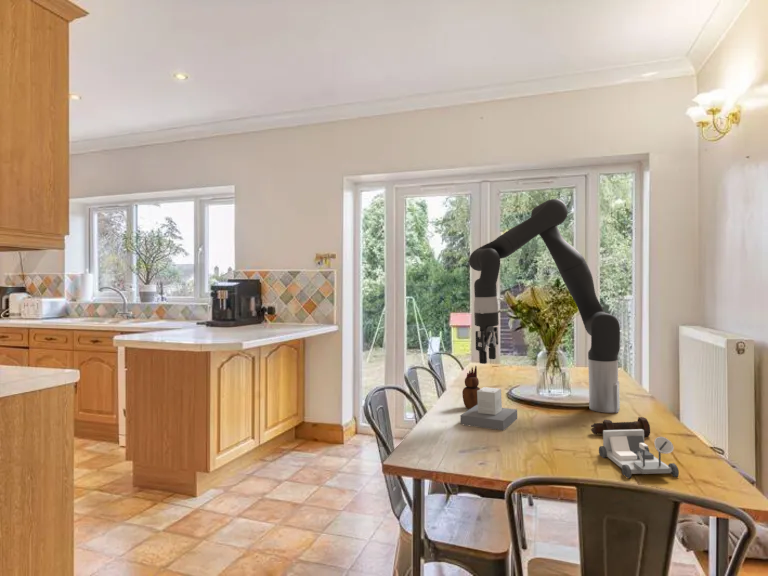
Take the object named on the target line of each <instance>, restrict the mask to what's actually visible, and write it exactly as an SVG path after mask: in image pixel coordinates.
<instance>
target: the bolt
mask: <svg viewBox="0 0 768 576" xmlns="http://www.w3.org/2000/svg"><path fill="white" fill-rule="evenodd" d="M590 427H591V429H590V431H591V433H592V434H593V435H603V430H631V429H643V430H644V438H649V437H650V436H651V426H650V422H649V421H648V419H647V418H646V417H643V416H638V417H637V421H635V420H634V421H621V422H614V421H612V420H610V419H603V421H602V422H594V423H593V424H591V425H590Z"/></svg>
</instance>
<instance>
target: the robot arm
mask: <svg viewBox="0 0 768 576" xmlns="http://www.w3.org/2000/svg"><path fill="white" fill-rule="evenodd" d="M567 218H568V208H567V205H566V203H565V202H564V201H563V200H561V199H558V198H551V199H548V200H546V201H544V202H542V203H540V204H538V205H536V206H535V207H534V208H533V209H532V211H531V213H530V217H529V218H528V219H526V220H523V222H521V223H518V224H516V226H514V227H511V228H510V229H508V230H507V231H505V232H503V233H502V234H500V235H499V236H498V237H496V238H495V239H493V240H492V241H490V242H488V243H485V244H484V245H482V246H480V247H478V248H476V249H475V250H474V251H472V252H471V254H470V255H469V258H468V263H469V266H470V268H471V269H472V270H474V271H477V272H480V275H479V278H477V279H476V280H475V281H474V284H473V288H474V290H473V291H474V302H473V311H474V312H473V313H474V326H475V327H479V330H476V331H475V351H477V352H478V355H479V357H478V358H479V359H478V360H479V364H481V365H482V364H484V365H486V364H488V359H489V360H495V359H497V354H496V353H497V350H496V348H497V346H498V345H499V329H498V327H497V326H499V321H500V320H499V303H498V297H497V296H498V294H497V283H498V279H499V273H500V268H501V259H505V258H507V257H509V256H511V255H512V254H513V253H516V251H518V250H519V249H520V248H522V247H524V246H525V245H526V244H527V243H529V242H530V241H531V240H533V239H534V238H535V237H537V236H540V238H541V239H542V241H543V243H544V244H545V246H546V248H547V249H548V252H549V253H550V256H551V257H552V259H553V261H554V264H555V265H556V267H557V270H558V273H559V275H560V276H561V278H562V279H561V280H563V283H564V284H565V286H566V288H567V291H568V292H569V294H570V297H572V299H573V301H574V302H575V304H576V307H577V309H578V312H579V315H580V317H581V321H582V322H583V324H582V325H583V326H584V329H585V331H586V333H587V334H588V335H589V336H590V339H591V340H590V341H591V342H590V348H589V350H588V352H587V359H588V360H587V362H588V363H587V364H588V397H589V401H588V402H589V403H588V405H589V410H590V411H593V412H597V413H598V412H599V413H606V414H608V413H609V414H610V413H619V411H620V409H621V406H620V405H621V404H620V403H621V402H620V399H621V398H620V397H621V395H620V381H619V359H618V357H619V352H620V350H621V349H620V348H621V347H620V346H621V329H620V323H619V321H618V318H617V317H616V316H614V315H613V314H610V313H607V312H606V311H605V310H604V308H603V305H601V303H600V301H599V299H598V296H597V294H596V289H595V283H594V279H593V274H592V272H591V269H590V268H589V266H588V263H587V261H586V259H585V258H584V256H583V254H582V253H580V252H579V251H578V250H577V249H576V248H575V247H574V246H572V245H571V244H570V243H569V242H568V241H566V239H565V238H564V236H562V234H561V231H560V230H559V228H558V226H560V225H561V224H562V223H564V222H565V221H566V219H567ZM487 349H488V350H487ZM487 351H488V354H487Z"/></svg>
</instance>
